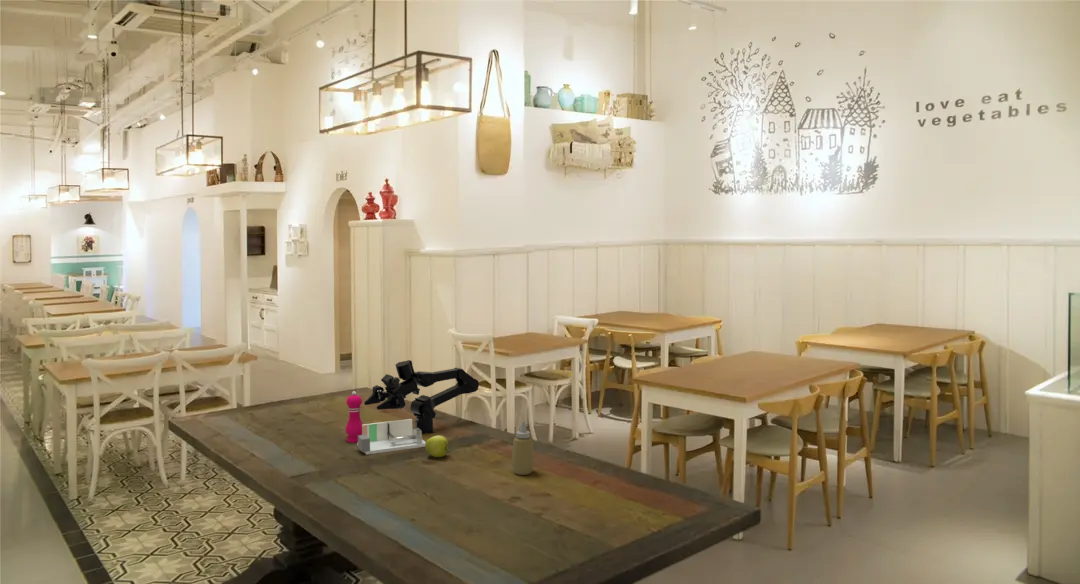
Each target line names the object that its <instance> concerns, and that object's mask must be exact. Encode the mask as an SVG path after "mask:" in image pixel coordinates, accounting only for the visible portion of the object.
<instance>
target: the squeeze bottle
mask: <svg viewBox="0 0 1080 584" xmlns="http://www.w3.org/2000/svg"><path fill="white" fill-rule="evenodd" d="M530 434H531V433H530V431H528V430H527V426H526V422H525V421H520V425H519V429H518V430H517V431H516V434H515V436H516V437H514V438H513V442H512V443H513V444H512V452H511V453H512V454H511V466H512V468H513V471H514V474H516V475H520V476H521V475H523V476H525V475H530V474H531V473H532V472H533V469H534V465H535V462H536V461H535V454H534V453H535V452H534V451H535V450H534V442H533V438H531V435H530Z"/></svg>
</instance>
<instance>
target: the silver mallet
mask: <svg viewBox="0 0 1080 584" xmlns="http://www.w3.org/2000/svg"><path fill="white" fill-rule="evenodd" d="M387 426H388V433H387V436H388V437H390V438H389V441H390V442H396V441H404V440H411V439H413V441H414V442H416V443H417V444H418V443H422V440H423V434H422V431H421V430H420V429H419V428H415V427H414V428H413V427H412V435H410V436H402V437H394V436H393V435H392V434H391V433H390V431H389V424H387Z"/></svg>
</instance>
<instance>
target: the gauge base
mask: <svg viewBox="0 0 1080 584" xmlns="http://www.w3.org/2000/svg"><path fill="white" fill-rule="evenodd" d="M387 424H389V431H390V433H391V434H392V435H393V436H394V437H402V436H410V435H413V419H412V418H408V419H407V418H406V419H398V420H389V421H382V422H381V421H380V422H373V423H363V425H362V435H359V436H358V442H356V445H357V447H358V450H359V451H361V452H362V453H363V454H365V455H366V456H367V455H373V454H380V453H381V454H382V453H389V452H396V451H397V452H398V451H404V450H411V449H417V448H426V447H425V444H426V441H425V440H424V439H422V443H418V444H417V443H416V442H414V441H413V439H411V440H404V441H396V442H390V441H389V438H390V437H388V436H387V433H388V426H387Z"/></svg>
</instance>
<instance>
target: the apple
mask: <svg viewBox="0 0 1080 584" xmlns="http://www.w3.org/2000/svg"><path fill="white" fill-rule="evenodd" d="M425 442H426V444H425V447H424V448H425V452H426V453H428V455H430V456H431V457H435V458H443V457H444V456H445V455H446V454H447V452H448V450H449V448H450V447H449V442H448V439H447V438H446V437H445V436H443V435H434V436H431V437H430V438H428V439H427V440H426V441H425Z"/></svg>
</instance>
